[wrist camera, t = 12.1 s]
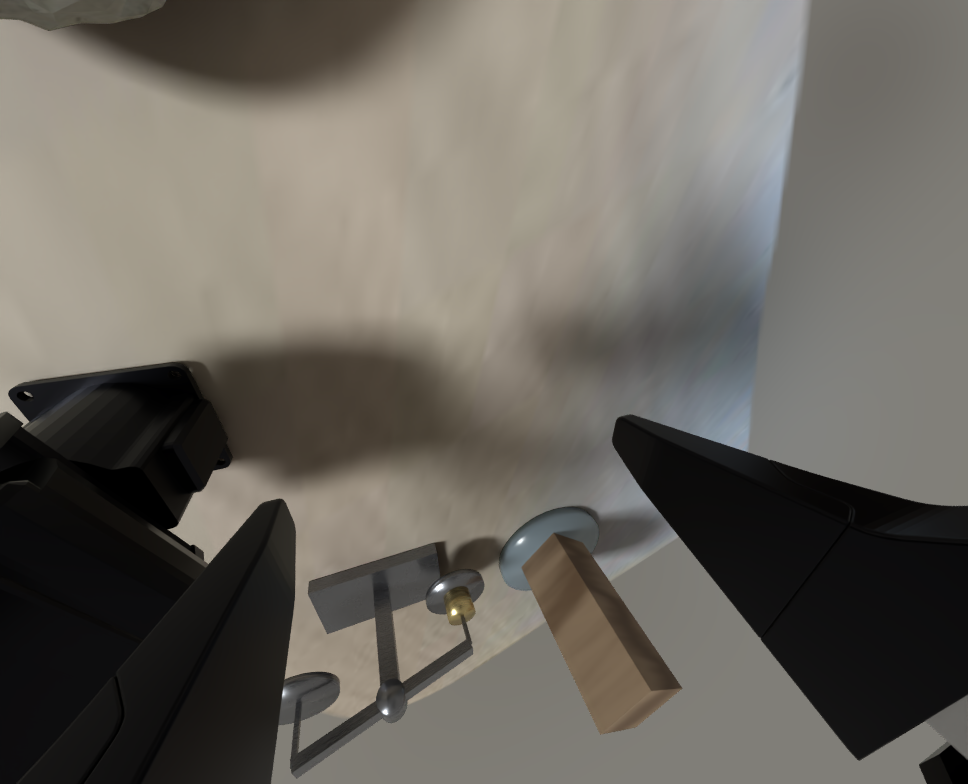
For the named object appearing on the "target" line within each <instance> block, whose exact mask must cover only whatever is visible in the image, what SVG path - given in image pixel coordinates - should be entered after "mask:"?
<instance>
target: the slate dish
mask: <svg viewBox="0 0 968 784" xmlns="http://www.w3.org/2000/svg"><path fill="white" fill-rule="evenodd" d="M553 533H556V534H559V535H562V536H565V537H568V538H571V539H574V540H577V541H580V542H582V543H583V544H584V545H585V547H586V548H587V549H588V551H589V552H590V554H591V553H592V552H593V550H594V548H595V546H596V544H597V542H598V538H599V528H598V525H597V523H596V522H595V521H594V519H593V518H592V517H591V515H590V514H589V513H588V512H586V511H585V510H583V509H580V508H575V507H564V508H558V509H555V510H551V511H548V512H546V513H543V514H541V515H539V516H537V517H535V518H534V519H532V520H530V521H529V522H527V523H526V524H525V525H523V526H522V527H521V528H520V529H519V530H517V531H516V532H515V533H514V534H513V535H512V537H511V538H510V539H509V540H508V542H507V543H506V544H505V546H504V548H503V550H502V552H501V554H500V558H499V568H500V571H501V574H502V576H503V579H504V581H505V582H506V584H507V585H508V586H510V587H511V588H514V589H516V590H524V591H527V590H532V589H531V587H530V585H529V583H528V581H527V579H526V577H525V575H524V573H523V570H522V568H521V567H522V566H523V565H524V564H525V562H526V561H527V560H528V559H529V558H530V557H531V556H532V555H533V554H534V553H535V552H536V551H537V550H538V549H539V548H540V546H541V545H542V544H543V543H544V542H545V541H546V540H547V539H548V538H549V537H550V536H551V535H552V534H553Z"/></svg>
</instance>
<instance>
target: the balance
mask: <svg viewBox="0 0 968 784" xmlns="http://www.w3.org/2000/svg"><path fill="white" fill-rule="evenodd" d="M483 590H484V581H483V578H482V576H481V574H480V573H479V572H477V571H475V570H471V569H463V570H457V571H454V572H451V573H448V574H446V575H444V576H442V577H441V578H440V571H439V564H438V556H437V551H436V547H435V543H433V544H430V545H426V546H423V547H420V548H417V549H414V550H410V551H407V552H404V553H401V554H397V555H394V556H391V557H388V558H384V559H381V560H378V561H375V562H371V563H368V564H365V565H362V566H358V567H355V568H352V569H349V570H346V571H342V572H339V573H336V574H333V575H329V576H326V577H323V578H320V579H316V580H313V581H310V582H309V587H308V595H309V597H310V599H311V601H312V604H313V606H314V608H315V610H316V612H317V614H318V616H319V618H320V620H321V622H322V624H323V626H324V628H325V630H326V632H327V634H329V633H332V632H335V631H338V630H340V629H343V628H346V627H349V626H352V625H355V624H357V623H360V622H363V621H366V620H369V619H372V618H374V617H375V621H376V634H377V648H378V661H379V674H380V688H379V690H378V693H377V696H376V701H375V702H373V703H372V704H370V705H369V706H367V707H366V708H364V709H363V710H362V711H360V712H359V713H357V714H356V715H354V716H353V717H351V718H350V719H348V720H347V721H345V722H344V723H342V724H341V725H339V726H338V727H336V728H335V729H333V730H332V731H330V732H329V733H328V734H326V735H325V736H323V737H322V738H320V739H319V740H317V741H316V742H314V743H313V744H311V745H310V746H308V747H307V748H306V749H304V750H302V751H301V752H299V753H298V749H299V735H300V723H301V720H305V719H307V718H310V717H312V716H314V715H316V714H318V713H320V712H322V711H324V710H325V709H327V708H328V707H329V706H330V705H332V704H333V703H334V702H335V701H336V699H337V698H338V696H339V693H340V681H339V678H338V677H337V676H336V675H334V674H331V673H327V672H310V673H304V674H300V675H296V676H293V677H290V678H287V679H285V680H284V686H283V694H282V702H281V709H280V717H279V724H278V725H285V724H290V723H294V730H293V740H292V752H291V759H290V769H291V772H292V774H293V775H294V776H295V777H296V778H298V777H300V776H301V775H302V774H304V773H305V772H307V771H308V770H310V769H311V768H312V767H314V766H315V765H317V764H318V763H319V762H321V761H322V760H324V759H325V758H327V757H328V756H329V755H331V754H332V753H334V752H335V751H336V750H338V749H339V748H341V747H342V746H343V745H345V744H346V743H348V742H349V741H351V740H352V739H353V738H355V737H356V736H357V735H359V734H361V733H362V732H363V731H365V730H366V729H367V728H369V727H371V726H372V725H373V724H375V723H376V722H378V721H379V720H380V719H382V718H383V719H384V720H385V721H386V722H388V723H393V722H396V721H398V720H399V719H400V718H401V717H402V716H403V715H404V713H405V711H406V709H407V700H409V699H410V698H412V697H413V696H414V695H416V694H417V693H419V692H420V691H422V690H423V689H424V688H426V687H427V686H429V685H430V684H432V683H433V682H434V681H436V680H437V679H439V678H440V677H441V676H443V675H444V674H446V673H447V672H449V671H450V670H451V669H453V668H454V667H456V666H457V665H458V664H460V663H461V662H463V661H464V660H466V659H467V658H468V657H470V656H471V655H473V647H472V645H471V644H472V641H471V638H470V634H469V631H468V627H467V624H466V622H468V621H469V620H470V619H472V618H473V616H474V615H475V608H474V605H473V602H475V601H476V600H477V599H478V598H479V596H480V595H481V594H482V592H483ZM425 599H426V604H427V608H428V609H429V610H430V611H431V612H433V613H435V614H447V616H448V620H449V623H450V624H451V625H461V624H462V625H463V629H464V633H465V636H466V640H465V641H463V642H462V643H460V644H459V645H458V646H456V647H455V648H453V649H452V650H450V651H449V652H447V653H446V654H444V655H443V656H441V657H440V658H438V659H437V660H435V661H434V662H432V663H431V664H429V665H428V666H427V667H425V668H424V669H422V670H421V671H419V672H418V673H416V674H415V675H413V676H412V677H410V678H409V679H407V680H406V681H404V682H403V683H401V681H400V674H399V666H398V657H397V649H396V640H395V631H394V623H393V614H392V611H394V610H397V609H400V608H403V607H406V606H408V605H411V604H414V603H417V602H420V601H423V600H425Z"/></svg>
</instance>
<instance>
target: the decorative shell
mask: <svg viewBox="0 0 968 784" xmlns="http://www.w3.org/2000/svg"><path fill="white" fill-rule="evenodd" d="M165 2H166V0H0V19H13V20H21V21H24V22H28V23H30V24H33V25H35V26H38V27H40V28H43V29H45V30H48V31H51V30H55V29H59V28H63V27H67V26H71V25H75V24H79V23H91V24H112V23H116V22H120V21H124V20H129V19H135V18H140V17H143V16H145V15H146V14H149V13H151V12H153V11H155V10H157V9H159V8H161V7H163V5H164V3H165Z"/></svg>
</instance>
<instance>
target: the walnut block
mask: <svg viewBox="0 0 968 784" xmlns="http://www.w3.org/2000/svg"><path fill="white" fill-rule="evenodd" d="M521 568H522V570H523V573H524V575H525V577H526V579H527V581H528V583H529V585H530V587H531V589H532V592H533V594H534V596H535V598H536V600H537V602H538V604H539V606H540V608H541V611H542V613H543V615H544V617H545V619H546V621H547V623H548V625H549V627H550V629H551V631H552V634H553V636H554V638H555V640H556V642H557V644H558V646H559V649H560V651H561V653H562V655H563V657H564V659H565V661H566V663H567V665H568V667H569V670H570V672H571V674H572V676H573V678H574V680H575V682H576V684H577V686H578V689H579V691H580V693H581V695H582V697H583V699H584V701H585V703H586V705H587V707H588V709H589V712H590V714H591V716H592V718H593V720H594V722H595V724H596V727H597V728H598V731H599V733H600V734H605V733H610V732H615V731H620V730H625V729H630V728H635V727H637V726H638V725H639V724H640V723H641V722H643V721H644V720H645V719H646V718H647V717H649V716H650V715H651V714H652V713H653V712H655V711H656V710H657V709H658V708H659V707H661V706H662V705H663V704H664V703H665V702H667V701H668V700H669V699H670V698H671V697H672V696H674V695H675V694H676V693H677V692H679V691H680V690H681V689H682V687H681V686H680V684H679V683H678V681H677V680H676V678H675V677H674V675H673V674H672V672H671V671H670V670H669V668H668V667H667V665H666V664H665V662H664V661H663V659H662V658H661V656H660V655H659V653H658V652H657V650H656V649H655V647H654V646H653V645H652V643H651V642H650V640H649V639H648V637H647V636H646V634H645V633H644V631H643V630H642V628H641V627H640V626H639V624H638V623H637V621H636V620H635V618H634V617H633V615H632V614H631V612H630V611H629V610H628V608H627V607H626V605H625V604H624V602H623V601H622V599H621V598H620V596H619V595H618V593H617V592H616V591H615V589H614V588H613V586H612V585H611V583H610V582H609V580H608V579H607V577H606V576H605V574H604V573H603V571H602V570H601V568H600V567H599V566H598V564H597V563H596V561H595V560H594V558H593V557H592V555H591V554H590V552H589V551H588V549H587V548H586V547H585V545H584V544H583V543H582V542H580V541H577V540H574V539H571V538H568V537H565V536H562V535H559V534H556V533H553V534H552V535H551V536H550V537H549V538H548V539H547V540H546V541H545V542H544V543H543V544H542V545H541V546H540V548H539V549H538V550H537V551H536V552H535V553H534V554H533V555H532V556H531V557H530V558H529V559H528V560H527V561H526V562H525V564H524V565H523V566H522V567H521Z"/></svg>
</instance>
